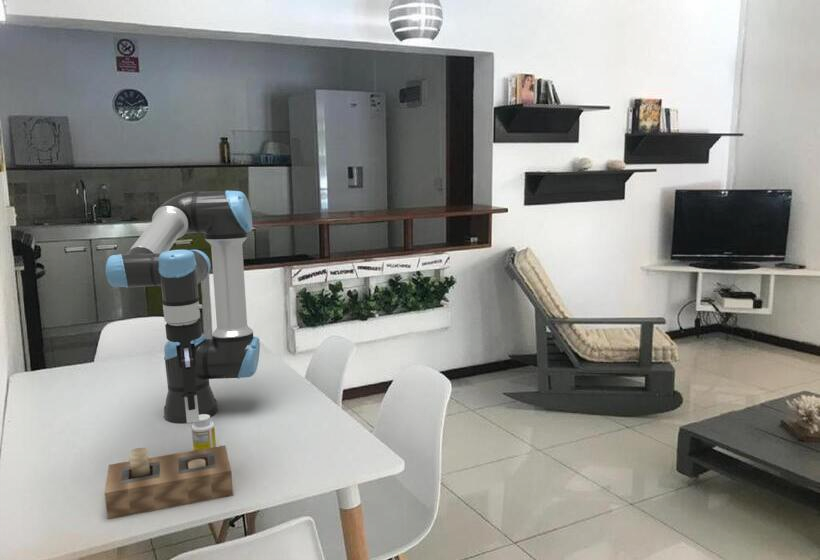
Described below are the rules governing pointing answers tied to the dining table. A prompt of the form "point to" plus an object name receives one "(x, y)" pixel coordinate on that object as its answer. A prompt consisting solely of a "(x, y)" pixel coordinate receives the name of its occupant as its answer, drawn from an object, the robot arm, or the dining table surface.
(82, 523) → the dining table surface
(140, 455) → the beige round peg
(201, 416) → the supplement bottle
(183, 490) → the socket block
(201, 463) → the short peg
